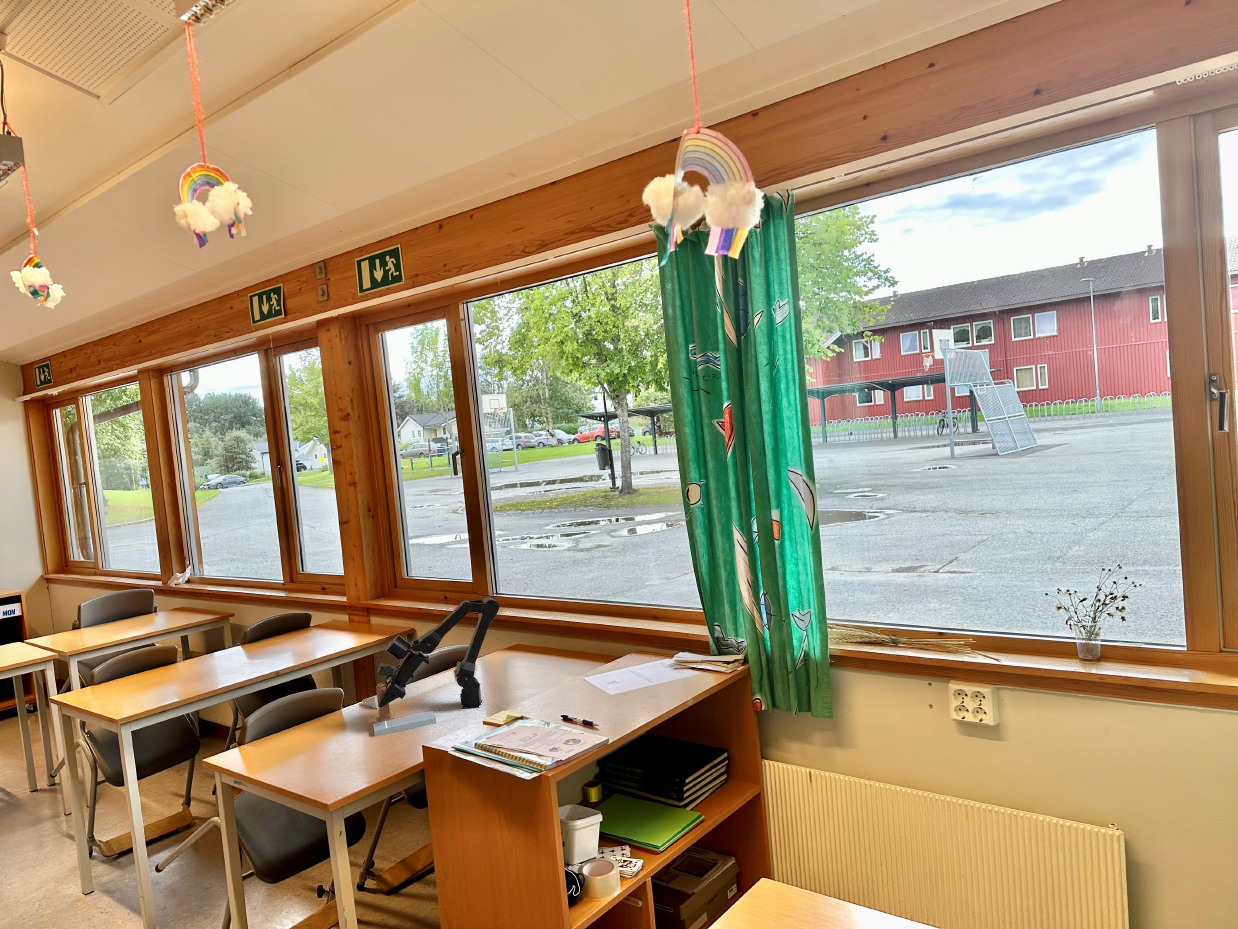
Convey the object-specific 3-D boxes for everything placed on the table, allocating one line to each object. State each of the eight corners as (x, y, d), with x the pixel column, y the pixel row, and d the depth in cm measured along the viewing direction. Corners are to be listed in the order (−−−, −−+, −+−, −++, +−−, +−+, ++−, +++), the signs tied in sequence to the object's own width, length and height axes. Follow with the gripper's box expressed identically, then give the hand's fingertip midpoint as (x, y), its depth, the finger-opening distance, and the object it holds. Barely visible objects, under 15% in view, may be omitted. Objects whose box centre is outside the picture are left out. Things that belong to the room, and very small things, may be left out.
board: (433, 716, 268) (433, 710, 268) (436, 723, 260) (435, 717, 260) (373, 728, 261) (373, 723, 261) (374, 736, 253) (374, 730, 253)
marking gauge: (394, 719, 268) (389, 680, 268) (395, 723, 264) (390, 684, 263) (376, 723, 266) (371, 683, 266) (376, 727, 262) (372, 687, 261)
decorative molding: (365, 712, 288) (377, 710, 281) (362, 700, 289) (374, 697, 282) (442, 685, 313) (455, 682, 306) (439, 674, 314) (452, 670, 307)
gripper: (388, 648, 274) (359, 685, 271) (391, 660, 257) (360, 700, 253) (413, 665, 277) (385, 702, 274) (418, 679, 260) (388, 718, 256)
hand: (379, 705), depth 264 cm, fingers open, 4 cm apart
